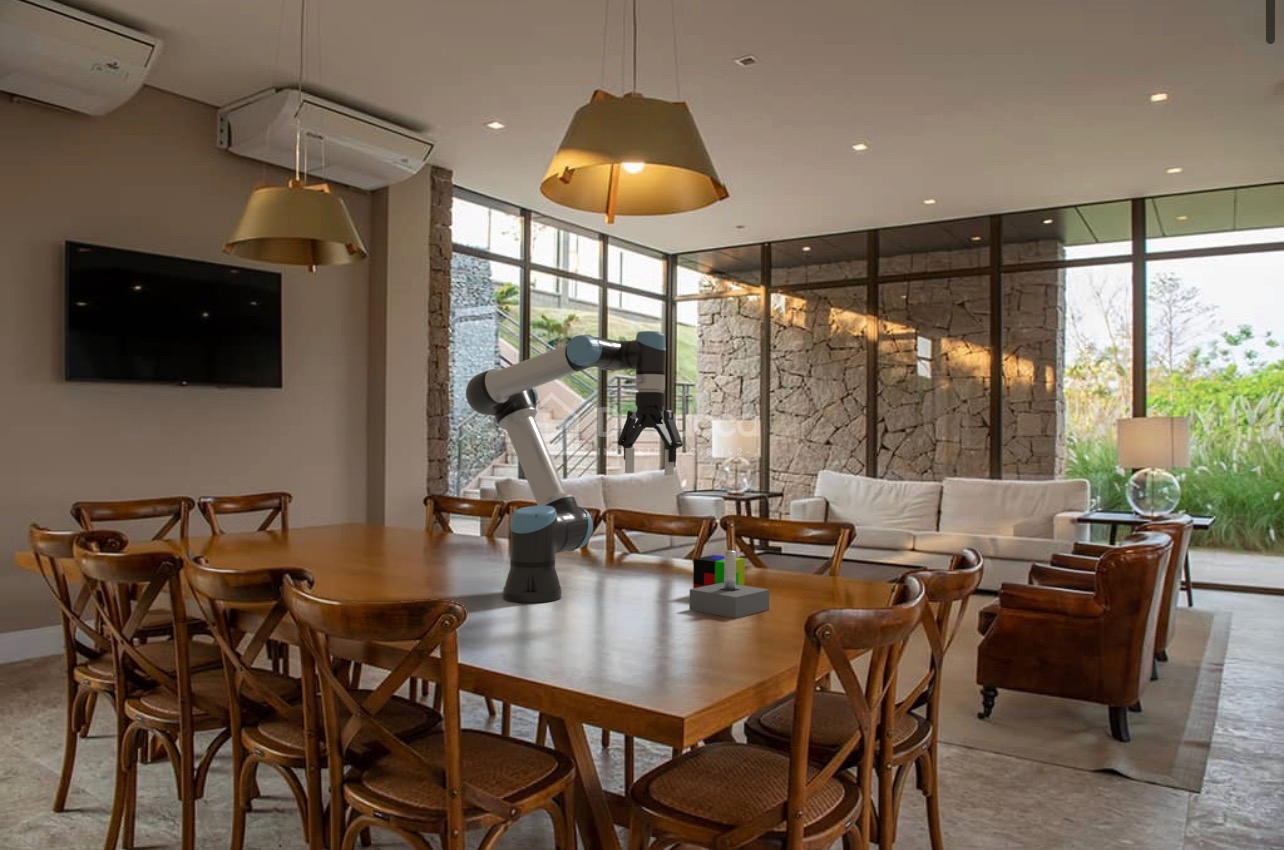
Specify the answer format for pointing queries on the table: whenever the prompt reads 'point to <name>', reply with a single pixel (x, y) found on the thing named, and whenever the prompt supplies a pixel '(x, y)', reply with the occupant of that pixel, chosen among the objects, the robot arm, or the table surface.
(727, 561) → the pin
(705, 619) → the table surface
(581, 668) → the table surface
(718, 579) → the puzzle toy
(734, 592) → the socket block
